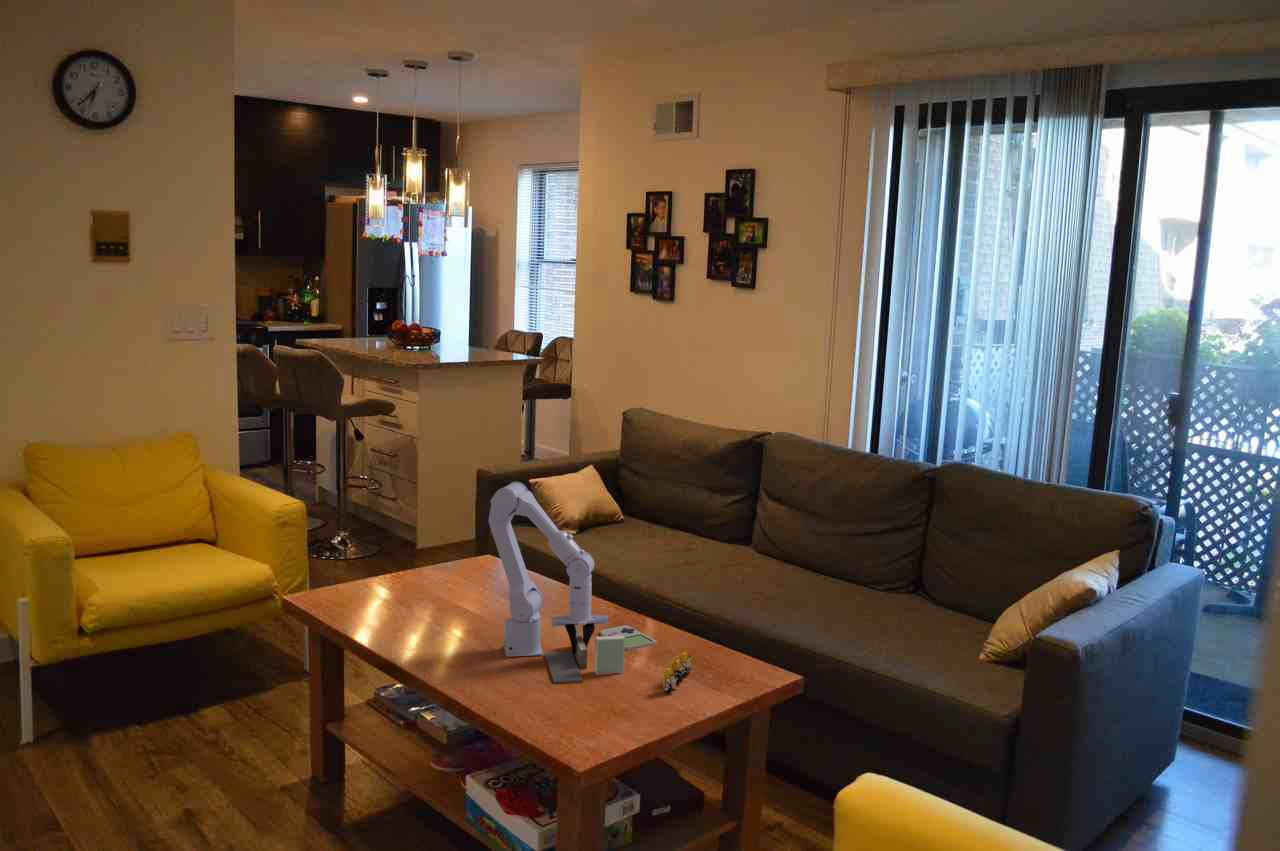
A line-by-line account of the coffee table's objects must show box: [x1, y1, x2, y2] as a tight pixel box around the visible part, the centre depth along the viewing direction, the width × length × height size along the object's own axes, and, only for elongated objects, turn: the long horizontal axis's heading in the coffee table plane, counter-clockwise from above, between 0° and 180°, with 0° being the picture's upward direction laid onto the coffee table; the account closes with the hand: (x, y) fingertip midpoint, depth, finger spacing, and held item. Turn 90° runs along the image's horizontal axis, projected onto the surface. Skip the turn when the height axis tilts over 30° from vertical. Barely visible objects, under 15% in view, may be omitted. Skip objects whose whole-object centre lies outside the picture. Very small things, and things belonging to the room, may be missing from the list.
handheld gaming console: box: [599, 625, 658, 651], centre depth 283 cm, size 10×2×15 cm
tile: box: [594, 636, 626, 675], centre depth 258 cm, size 7×2×9 cm, turn 102°
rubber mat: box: [544, 651, 584, 685], centre depth 260 cm, size 7×19×1 cm, turn 12°
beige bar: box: [574, 627, 588, 670], centre depth 268 cm, size 2×16×5 cm, turn 12°
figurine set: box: [662, 650, 692, 696], centre depth 253 cm, size 3×16×7 cm, turn 159°
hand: (578, 651), depth 268 cm, fingers closed
